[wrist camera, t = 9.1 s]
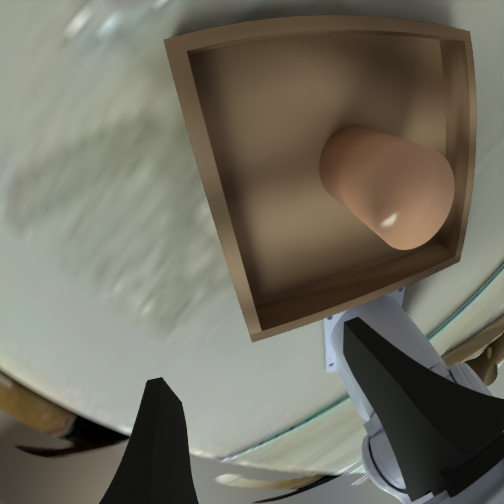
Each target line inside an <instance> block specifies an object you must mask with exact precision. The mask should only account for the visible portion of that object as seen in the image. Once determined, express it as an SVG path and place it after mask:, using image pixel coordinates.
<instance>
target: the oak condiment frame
mask: <svg viewBox="0 0 504 504" xmlns="http://www.w3.org/2000/svg"><path fill="white" fill-rule="evenodd" d="M503 333H504V316H502V317H501V318H500V319H498V320H497V321H496V322H494V323H493V324H491V325H490V326H489V327H487V328H486V329H484V330H483V331H482V332H480V333H479V334H477V335H476V336H474V337H473V338H471V339H470V340H468V341H467V342H465V343H464V344H462V345H460V346H459V347H457V348H456V349H454V350H453V351H451V352H449V353H448V354H446V355H444V356H443V357H441V358H442V359H443V361H444V362H445V363H446V365H448V366H449V367H451V366H452V365H453V364H454V363H456V362H458V363H459V364H460V363H464V362H465V361H467V360H468V359H470V358H471V357H473V356H474V355H475V354H477V353H478V352H480V351H481V350H482V349H484V348H485V347H487V346H488V345H489V344H491V343H492V342H493V341H495V340H496V339H497V338H498V337H500V336H501V335H502V334H503ZM503 360H504V357H503V358H501V359H500V360H498V361H497V362H496V364H497V365H498V364H499V363H501V362H502V361H503Z"/></svg>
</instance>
